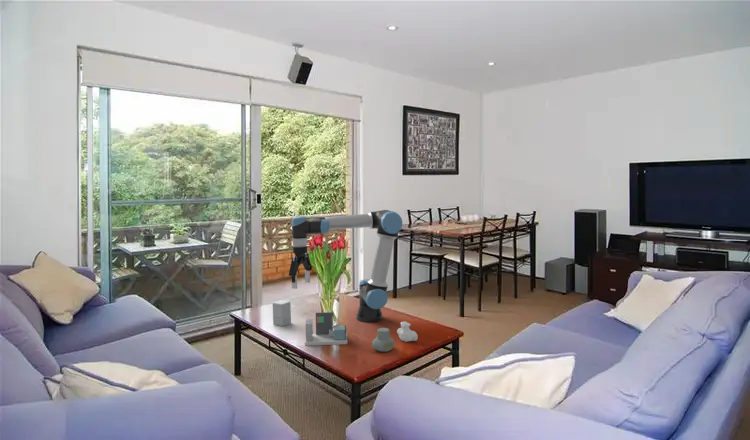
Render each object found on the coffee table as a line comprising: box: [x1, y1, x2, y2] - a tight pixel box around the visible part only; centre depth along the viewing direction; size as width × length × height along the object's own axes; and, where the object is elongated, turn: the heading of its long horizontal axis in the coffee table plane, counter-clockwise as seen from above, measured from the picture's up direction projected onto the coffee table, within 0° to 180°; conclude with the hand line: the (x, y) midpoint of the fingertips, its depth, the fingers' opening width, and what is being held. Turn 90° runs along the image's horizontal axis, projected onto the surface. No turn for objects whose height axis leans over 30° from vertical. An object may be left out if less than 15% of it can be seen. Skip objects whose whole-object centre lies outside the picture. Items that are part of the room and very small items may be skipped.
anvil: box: [305, 318, 314, 342], centre depth 231 cm, size 3×8×9 cm, turn 5°
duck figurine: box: [396, 321, 419, 343], centre depth 232 cm, size 12×8×11 cm
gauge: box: [329, 315, 347, 340], centre depth 233 cm, size 9×8×10 cm
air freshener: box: [371, 327, 396, 353], centre depth 220 cm, size 11×8×10 cm
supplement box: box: [272, 299, 292, 327], centre depth 259 cm, size 7×7×13 cm
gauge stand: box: [304, 311, 348, 347], centre depth 232 cm, size 21×12×13 cm, turn 95°
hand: (301, 285), depth 244 cm, fingers open, 13 cm apart
